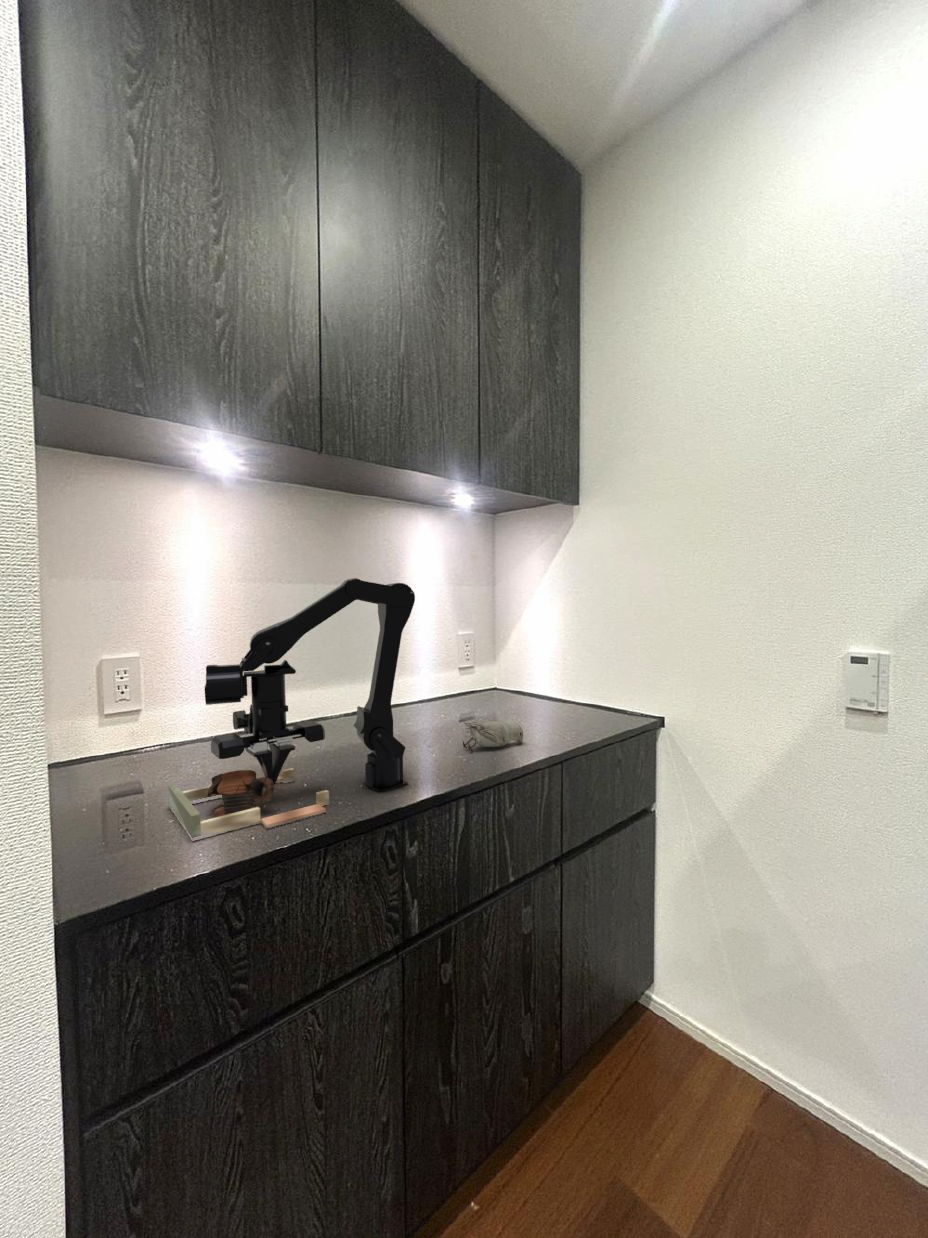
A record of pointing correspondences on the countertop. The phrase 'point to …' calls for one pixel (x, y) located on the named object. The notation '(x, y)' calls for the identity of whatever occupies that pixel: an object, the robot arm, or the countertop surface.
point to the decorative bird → (494, 733)
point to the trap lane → (197, 828)
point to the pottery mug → (240, 791)
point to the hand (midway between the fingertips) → (271, 785)
